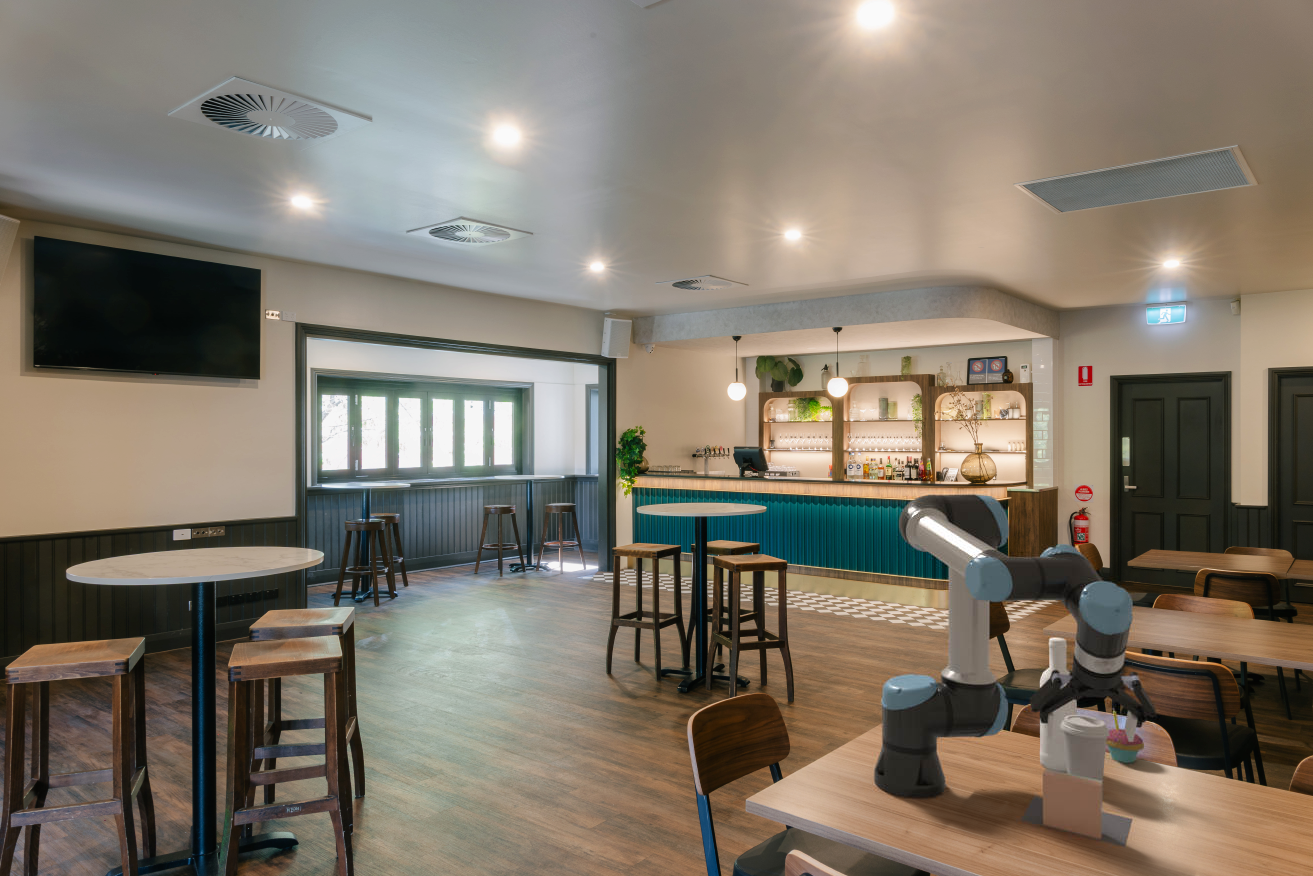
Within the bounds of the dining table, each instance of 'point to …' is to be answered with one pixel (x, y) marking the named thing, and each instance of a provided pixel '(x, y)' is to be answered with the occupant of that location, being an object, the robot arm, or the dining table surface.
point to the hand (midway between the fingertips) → (1087, 733)
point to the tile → (1073, 803)
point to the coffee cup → (1084, 745)
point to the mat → (1112, 833)
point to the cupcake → (1123, 744)
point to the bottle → (1055, 712)
